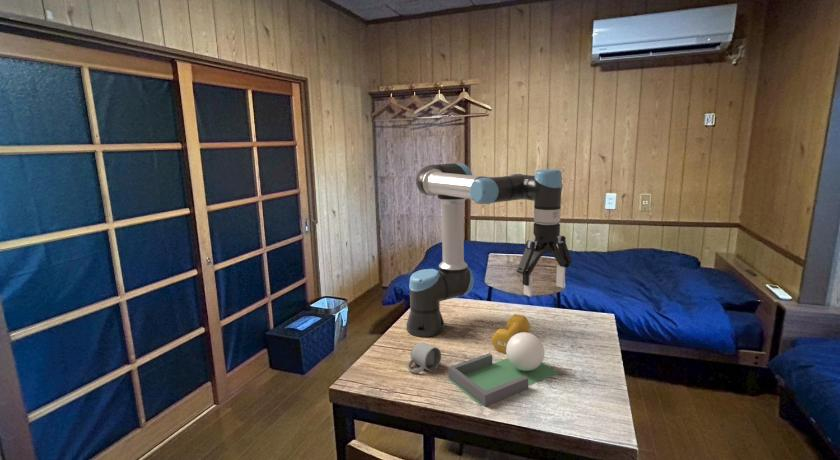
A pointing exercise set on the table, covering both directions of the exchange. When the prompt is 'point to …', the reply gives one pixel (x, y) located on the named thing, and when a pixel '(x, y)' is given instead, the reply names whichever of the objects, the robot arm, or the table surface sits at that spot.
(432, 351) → the ceramic mug
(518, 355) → the ball
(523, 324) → the dumbbell
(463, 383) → the grey open tray
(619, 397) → the table surface
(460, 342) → the table surface
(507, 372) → the green mat
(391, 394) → the table surface
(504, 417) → the table surface
